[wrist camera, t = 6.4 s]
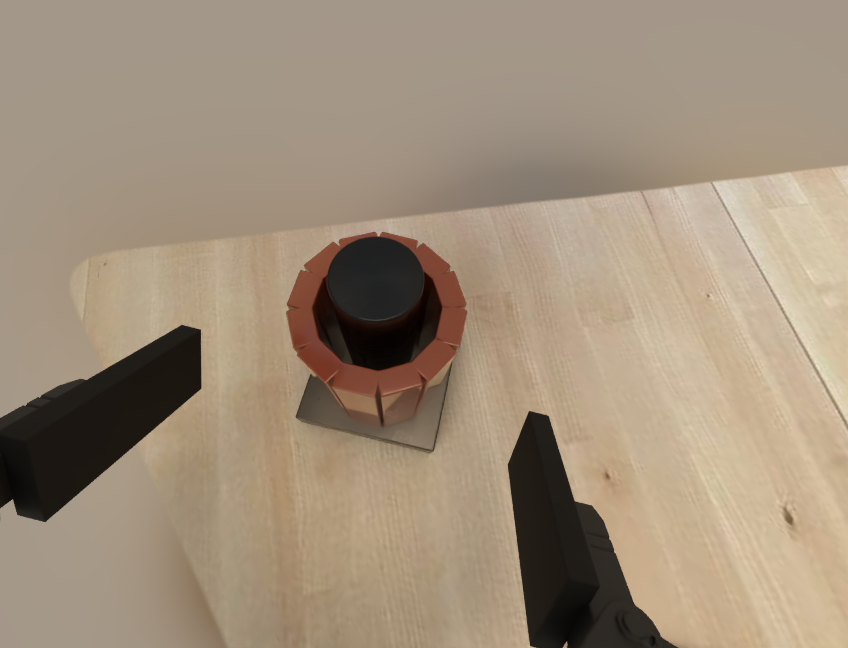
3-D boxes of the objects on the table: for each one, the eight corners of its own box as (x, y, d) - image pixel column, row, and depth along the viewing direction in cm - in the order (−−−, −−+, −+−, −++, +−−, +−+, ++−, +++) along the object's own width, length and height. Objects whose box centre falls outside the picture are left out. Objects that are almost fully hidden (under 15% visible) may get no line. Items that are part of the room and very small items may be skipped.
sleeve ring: (308, 409, 22) (260, 369, 14) (344, 303, 25) (320, 216, 17) (425, 438, 22) (446, 415, 14) (449, 329, 25) (479, 254, 17)
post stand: (300, 421, 24) (206, 362, 12) (340, 302, 27) (299, 157, 15) (431, 453, 24) (473, 428, 11) (456, 330, 27) (512, 208, 14)
